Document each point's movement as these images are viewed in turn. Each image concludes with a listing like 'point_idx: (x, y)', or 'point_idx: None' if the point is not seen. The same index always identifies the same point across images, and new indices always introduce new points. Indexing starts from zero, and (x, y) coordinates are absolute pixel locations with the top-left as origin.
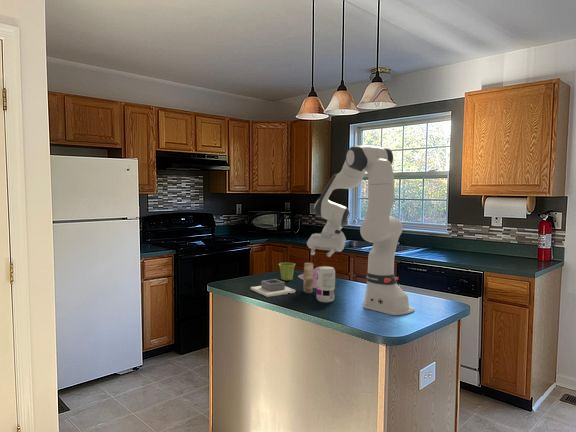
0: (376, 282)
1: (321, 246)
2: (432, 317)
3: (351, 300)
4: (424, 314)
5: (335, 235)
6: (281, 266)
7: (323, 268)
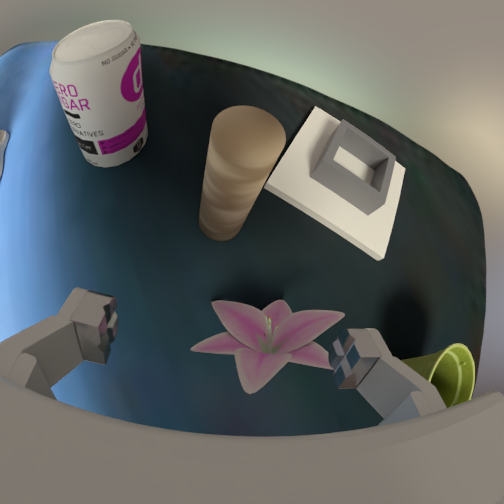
0: None
1: (280, 439)
2: None
3: (30, 186)
4: None
5: None
6: (455, 347)
7: (105, 30)
